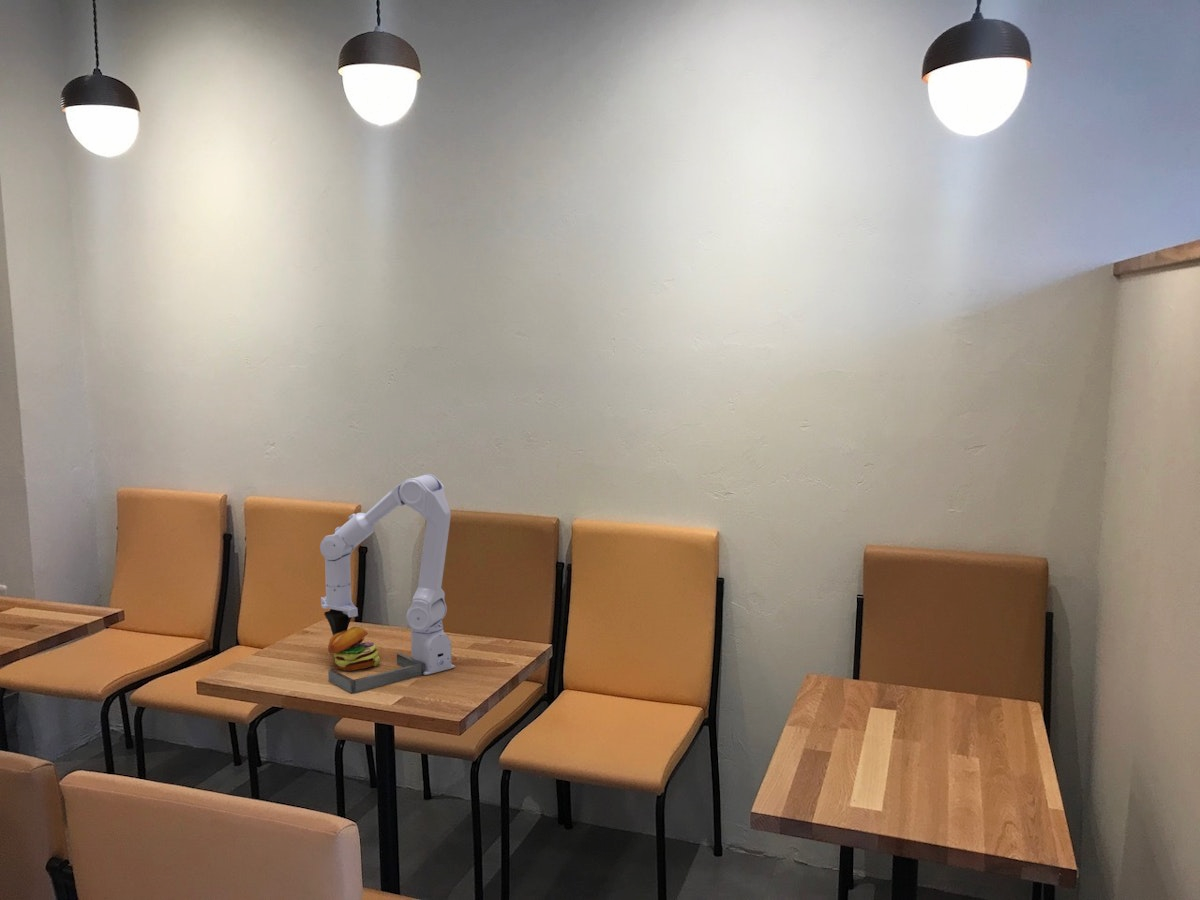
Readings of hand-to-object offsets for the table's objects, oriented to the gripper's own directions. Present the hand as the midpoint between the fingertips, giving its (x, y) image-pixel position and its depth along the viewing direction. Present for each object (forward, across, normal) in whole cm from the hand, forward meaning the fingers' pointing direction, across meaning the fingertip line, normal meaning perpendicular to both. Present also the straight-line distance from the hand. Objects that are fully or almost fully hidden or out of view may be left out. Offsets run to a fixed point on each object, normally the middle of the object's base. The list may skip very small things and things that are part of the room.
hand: (339, 640), depth 220 cm
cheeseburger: (+5, +7, 0) cm, 8 cm away
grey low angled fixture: (+4, +17, 0) cm, 18 cm away
